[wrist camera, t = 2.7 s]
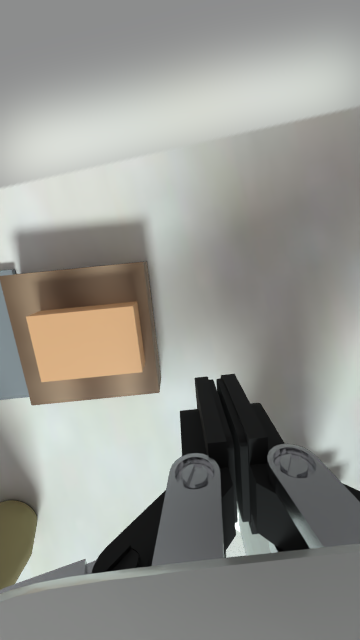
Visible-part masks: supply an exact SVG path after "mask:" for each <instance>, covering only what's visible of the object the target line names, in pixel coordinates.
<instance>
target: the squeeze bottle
mask: <svg viewBox="0 0 360 640" xmlns="http://www.w3.org/2000/svg"><path fill="white" fill-rule="evenodd" d="M36 526H37V516H36V514H35V512H34V510H33V509H32V508H31V507H29V506H28V505H27V504H25V503H22V502H20V501H14V500H7V501H4V502H0V590H1V589H3V588H5V587H8V586H11V585H14V584H15V583H16V581H17V579H18V577H19V576H20V574H21V572H22V571H23V569H24V567H25V565H26V564H27V562H28V560H29V558H30V556H31V554H32V549H33V543H34V538H35V532H36Z"/></svg>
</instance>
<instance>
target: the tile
mask: <svg viewBox="0 0 360 640" xmlns="http://www.w3.org/2000/svg"><path fill="white" fill-rule="evenodd" d="M26 320H27V324H28V328H29V332H30V336H31V340H32V345H33V349H34V353H35V357H36V361H37V366H38V370H39V374H40V378H41V382H49V381H60V380H70V379H80V378H90V377H100V376H110V375H120V374H130V373H140V372H143V368H144V364H145V356H144V348H143V341H142V333H141V326H140V319H139V311H138V304H137V301H135V302H125V303H115V304H105V305H95V306H85V307H75V308H64V309H54V310H44V311H39V312H36V313H34V314H31V315H29V316H26Z"/></svg>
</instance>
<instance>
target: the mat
mask: <svg viewBox="0 0 360 640" xmlns="http://www.w3.org/2000/svg"><path fill="white" fill-rule="evenodd" d="M14 274H16V272H15V269H13V270H2V271H0V276H4V275H14ZM23 397H29V393H28V389H27V385H26V381H25V377H24V373H23V369H22V365H21V362H20V358H19V354H18V350H17V346H16V342H15V338H14V334H13V330H12V326H11V322H10V318H9V314H8V310H7V306H6V302H5V298H4V295H3V291H2V287H1V283H0V400H3V399H13V398H23Z"/></svg>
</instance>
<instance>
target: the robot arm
mask: <svg viewBox="0 0 360 640" xmlns="http://www.w3.org/2000/svg"><path fill="white" fill-rule="evenodd" d="M195 388H196V399H197V409H194V410H184V411H180V422H181V441H182V457H180V458H179V459H177V460H176V461H175V462H174V464H173V465H172V467H171V469H170V472H169V477H168V483H167V488H166V490H165V491H164V492H163V493H162V494H161V495H160V496H159V497H158V498H157V499H156V500H155V501H154V502H153V503H152V504H151V505H150V506H149V507H148V508H147V509H146V510H145V511H144V512H143V513H141V514H140V515H139V516H138V517H137V518H136V519H135V520H134V521H133V522H132V523H131V524H130V525H129V526H128V527H127V528H126V529H125V530H124V531H123V532H122V533H121V534H120V535H119V536H118V537H116V538H115V539H114V540H113V541H112V542H111V543H110V544H109V545H108V546H107V547H106V548H105V549H104V551H103V552H102V553H101V554H100V555H99V557H98V559H97V560H96V561H93V562H91V563H88V564H87V563H86V559H84V560H81V561H78V562H75V563H72V564H70V565H67V566H64V567H61V568H58V569H56V570H53V571H50V572H47V573H45V574H42V575H39V576H36V577H33V578H31V579H28V580H25V581H22V582H19V583H17V584H14V585H11V586H8V587H5V588H3V589H1V590H0V640H360V491H358V490H356V489H354V488H351V487H349V486H347V485H345V484H343V483H341V482H340V480H339V479H338V478H337V477H336V476H335V475H334V474H333V473H332V472H331V471H330V470H329V469H328V468H327V467H326V466H325V465H324V463H323V462H322V461H321V460H320V459H319V458H318V457H317V456H316V455H315V454H313V453H312V452H311V451H310V450H308V449H306V448H304V447H301V446H298V445H295V444H284V442H283V440H282V439H281V437H280V435H279V434H278V432H277V430H276V428H275V427H274V425H273V423H272V422H271V420H270V418H269V417H268V415H267V413H266V412H265V410H264V408H263V407H262V405H261V404H260V403H253V404H250V402H249V400H248V399H247V397H246V395H245V393H244V391H243V389H242V387H241V385H240V383H239V382H238V380H237V378H236V376H235V374H228V375H221V379H217V390H216V387H215V384H214V381H213V380H208V377H198V378H195ZM236 530H238V531H239V532H240V533H241V537H242V541H243V545H244V549H245V553H246V556H238V557H229V558H226V549H227V548H228V546H229V545H230V543H231V542H232V540H233V539H234V537H235V536H236Z"/></svg>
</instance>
